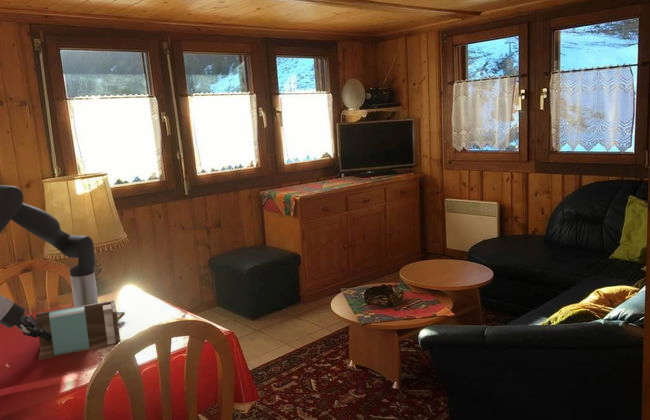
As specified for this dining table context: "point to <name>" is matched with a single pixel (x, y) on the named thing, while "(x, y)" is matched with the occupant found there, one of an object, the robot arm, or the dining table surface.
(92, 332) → the open wooden box
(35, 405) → the dining table surface
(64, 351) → the rectangular block
